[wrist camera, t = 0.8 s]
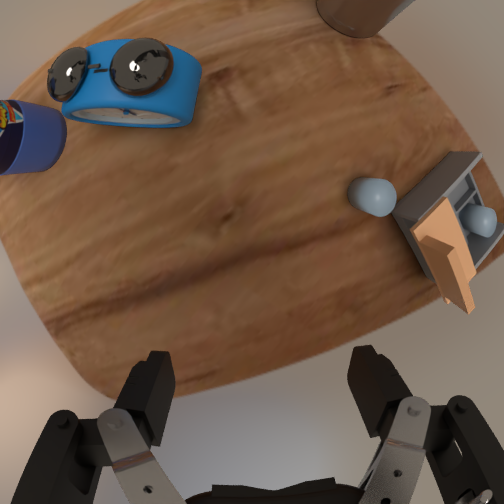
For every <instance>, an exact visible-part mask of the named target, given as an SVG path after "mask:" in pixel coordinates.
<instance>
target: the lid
mask: <svg viewBox="0 0 504 504" xmlns="http://www.w3.org/2000/svg"><path fill="white" fill-rule="evenodd" d="M410 231H411V233H412V235H413V237H414V239H415V241H416V242H417V244H418V246H419V248H420V250H421V252H422V254H423V256H424V258H425V260H426V262H427V264H428V266H429V268H430V270H431V273H432V275H433V277H434V279H435V281H436V283H437V286H438V288H439V290H440V293H441V295H442V297H443V300H444V302H446V303H447V304H449V303H450V302H451V301H452V302H453V303H454V304H455V305H457V306H458V307H459V308H461V309H462V310H463V311H465V312H466V313H467V314H469V313H470V312H471V311H472V310H473V309H474V308H475V305H474V301H473V298H472V295H471V291H470V288H469V285H468V282H469V281H470V280H471V279H472V278H473V277H474V275H475V274H476V270H475V267H474V264H473V261H472V258H471V255H470V252H469V249H468V246H467V243H466V241H465V238H464V235H463V233H462V230H461V228H460V225H459V223H458V220H457V218H456V216H455V213H454V211H453V209H452V207H451V204H450V202H449V200H448V198H447V197H444V196H443V197H442V198H441V199H440V200H439V201H438V202H437V203H436V204H435V205H434V206H433V207H432V208H431V209H430V210H429V211H428V212H427V213H426V214H425V215H424V216H423V217H422V218H421V219H420V220H419V221H418V222H417V223H416V224H415V225H414V226H413V227H412V228H411V229H410Z"/></svg>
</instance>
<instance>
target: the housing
mask: <svg viewBox="0 0 504 504" xmlns="http://www.w3.org/2000/svg"><path fill="white" fill-rule="evenodd" d="M482 157H483V155H482V153H481V152H450V153H449V154H448V155H447V156H446V157H445V158H444V159H443V160H442V161H441V162H440V163H439V164H438V165H437V166H436V167H435V168H434V169H433V170H432V171H431V172H430V173H429V174H428V175H426V176H425V177H424V178H423V179H422V180H421V181H420V182H419V183H418V184H417V185H416V186H415V187H414V188H413V189H412V190H411V191H410V192H409V193H408V194H407V195H405V196H404V197H403V198H402V199H401V200H400V201H399V202H398V203H397V204H396V205H395V207H394V209H393V210H392V211H391V213H392V215H393V217H394V218H395V220H396V222H397V223H398V225H399V227H400V228H401V230H402V232H403V234H404V235H405V237H406V239H407V241H408V243H409V244H410V246H411V248H412V250H413V252H414V254H415V256H416V258H417V259H418V261H419V263H420V265H421V267H422V269H423V271H424V273H425V275H426V277H427V278H428V279H430V280H431V281H433V282H434V283H436V281H435V279H434V277H433V275H432V273H431V270H430V268H429V266H428V264H427V262H426V260H425V258H424V256H423V254H422V252H421V250H420V248H419V246H418V244H417V242H416V241H415V239H414V237H413V235H412V233H411V231H410V229H411V228H412V227H413V226H414V225H415V224H416V223H417V222H418V221H419V220H420V219H421V218H422V217H423V216H424V215H425V214H426V213H427V212H428V211H429V210H430V209H431V208H432V207H433V206H434V205H435V204H436V203H437V202H438V201H439V200H440V199H441V198H442V197H443V196H444V197H447V198H448V200H449V202H450V204H451V207H452V209H453V211H454V213H455V216H456V218H457V220H458V223H459V225H460V228H461V230H462V233H463V235H464V238H465V241H466V243H467V246H468V249H469V252H470V255H471V258H472V261H473V264H474V267H475V269H476V268H477V267H478V266H479V265H480V264H481V262H482V261H483V260H484V259H485V257H486V256H487V255H488V254H489V252H490V251H491V250H492V249H493V247H494V246H495V245H496V243H497V242H498V241H499V240H500V238H501V237H502V235H503V234H504V224H502V223H499V222H497V224H496V229H495V231H494V233H493V234H492V236H490V237H488V238H487V237H484V236H481V235H479V234H476V233H473V232H471V231H468V230H465V229H463V227H462V225H461V222H460V220H459V212H460V211H461V210H462V208H463V207H464V206H465V205H466V204H467V203H471V204H475V205H480V206H484V204H483V201H482V198H481V195H480V193H479V190H478V188H477V185H476V183H475V180H474V178H473V176H472V173H471V169H472V168H473V167H474V166H475V165H476V164H477V162H478V161H479V160H480V159H481V158H482ZM484 207H485V206H484ZM436 284H437V283H436Z"/></svg>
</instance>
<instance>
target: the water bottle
mask: <svg viewBox="0 0 504 504" xmlns="http://www.w3.org/2000/svg"><path fill="white" fill-rule="evenodd" d="M66 135H67V127H66V122H65V119H64V117H63V115H62V114H61V113H60V112H59V111H58V110H56V109H53V108H49V107H45V106H41V105H37V104H32V103H28V102H23V101H18V100H0V175H8V174H18V173H28V172H39V171H45V170H47V169H49V168H51V167H52V166H53V165H54V164H55V163H56V162H57V160H58V159H59V157H60V155H61V154H62V151H63V149H64V146H65V142H66Z"/></svg>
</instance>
